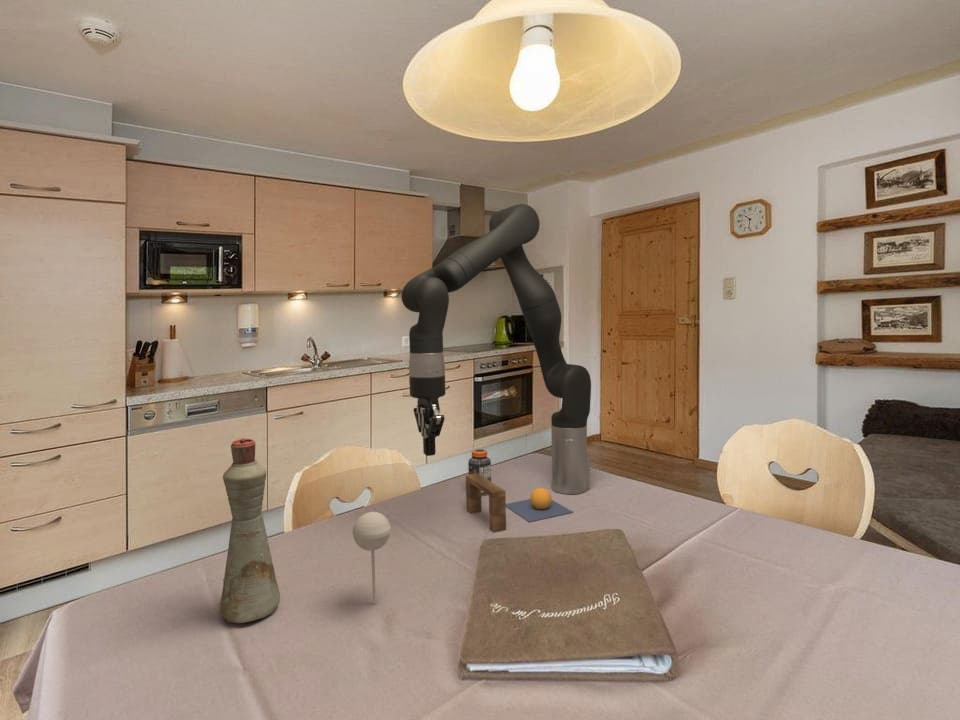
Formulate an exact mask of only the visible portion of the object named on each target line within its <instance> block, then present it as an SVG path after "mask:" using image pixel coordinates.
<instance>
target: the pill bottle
mask: <svg viewBox="0 0 960 720" xmlns="http://www.w3.org/2000/svg"><path fill="white" fill-rule="evenodd" d="M467 463H468V475H469V474H476V473H478V474H479V475H481V476H483V477H484V478H486V479H487V480H489V481H491V482H492V461H491V459H490V458H489V457H488V450H487V449H485V448H475V449H473V450H471V457H470V458H469V460H468V462H467ZM481 495H484V496H488V495H487V494H486V493H484V492H483V491H481Z"/></svg>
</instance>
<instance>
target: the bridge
mask: <svg viewBox="0 0 960 720" xmlns="http://www.w3.org/2000/svg"><path fill="white" fill-rule="evenodd" d="M481 491H483V492H484V493H486V494H487V495H486V496H488V509H489V510H488V513H489V514H488V517H489V530H490V531H491V532H492V533H499V532H502V531H506V530H507V510H506V509H507V507H506V504H507V503H506V500H507V499H506V489H504V488H502V487H501V486H499V485H497V484H496V483H494V482H492V480H491V481H489V480H487V479H486V478H484V477H483V476H481V475H479V474H478V473H476V474H469V473H468V474H465V497H466V498H465V499H466V500H465V501H466V503H465V504H466V506H465V507H466V512H467V513H468V514H476V513H480V512H482V496H481Z"/></svg>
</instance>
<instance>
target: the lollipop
mask: <svg viewBox="0 0 960 720" xmlns="http://www.w3.org/2000/svg"><path fill="white" fill-rule="evenodd" d="M352 528H353V529H352V537H353V539H354V542H355V544H356V545H357V546H358V547H359V548H360V549H363V550H365V551H368V552H371V554H370V555H371V578H372V580H371V581H372V582H371V583H372V604H373V605H376V604H377V592H376V589H377V588H376V565H375V564H376V563H375V551H377V550H379V549H382V548H383V547H384V546H385V545H386V543H388V541H389V539H390V536H391V532H392V529H391V528H392V527H391V524H390V521H389V520H388V518H387V517H386V516H385V515H384V514H382V513H380V512H376V511H370V512H366V513H364V514H362V515H361V516H360V517H359V518H358V519H357V520H356V521H355V523H354V525H353V527H352Z"/></svg>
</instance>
